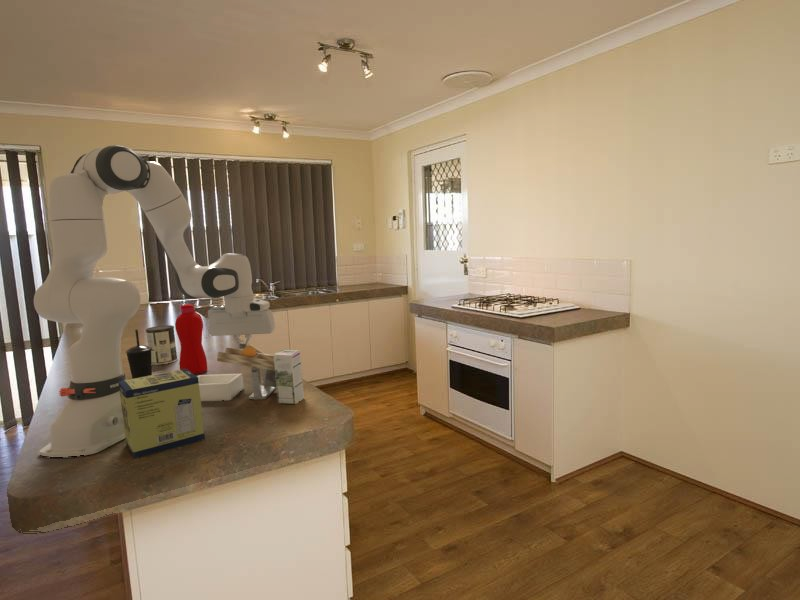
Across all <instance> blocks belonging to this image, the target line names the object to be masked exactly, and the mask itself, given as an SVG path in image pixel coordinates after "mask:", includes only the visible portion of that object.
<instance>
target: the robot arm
mask: <svg viewBox="0 0 800 600" xmlns="http://www.w3.org/2000/svg"><path fill="white" fill-rule="evenodd" d="M123 192H127V193H129V194H130V195H131V196H132V197H133V198H134V199H135V200H136V201H137V202H138V204H139V206H140V208H141V209H142V212H143V213H144V214H145V216H146V218H147V219H148V221H149V223H150V224H151V226H152V227H153V228H152V229H154V232H155V235H156V238H157V239H158V241H159V244H160V246H161V248H162V250H163V252H164V253H165V256H166V257H167V259H168V261H169V264H170V265H171V267H172V268H173V269H172V270H173V271H174V273H175V279H176V284H177V288H178V290H179V292H180V293H181V294H182V295H183V296H184V297H186V298H189V299H192V300H195V299H196V300H197V299H198V300H199V299H211V300H212V299H213V300H214V299H220V298H223V300H224V301H223V302H224V305H219V306H215V305H214V306H211V307H210V308H209V309H208V311H207V318H208V330H209V331H208V335H209V336H211V337H221V336H224V337H225V336H233V340H234V341H235V342H236V344H237V349H244V348H245V347H247V346H250V341H251V339H252V338H253V335H263V334H264V335H265V334H267V335H269V334H272V333H274V331H275V330H276V329H275V328H276V322H275V318H274V314H273V312H272V310H271V309H269V308H270V307H271V306H270V305H271V304H270V302H269V301H267V300H263V299H259V298H256V297H254V295H255V294H254V292H253V289H252V284H253V278H252V277H253V275H252V268H251V263H250V260H249V257H247V256H246V255H244V254H241V253H231V252H229V253H223V254H222V255H221V257H220V258H218V259H217V260H216V261H215V262H213V263H211V264H209V265H207V266H205V265H204V266H203V265H199V263H197V262H196V261H195V260H194V257H193V256H192V254H191V252H190V249H189V248H188V246H187V244H186V241H185V238H184V233H185V230H186V229H187V228H188V227H189V225H190V223H191V221H192V220H191V219H192V211H191V208H190V206H189V204H188V201H187V199H186V198H185V196H184V194H183V192H182V191H181V189H180V187H179V186H178V185H177V182H175V180H174V178H173V177H172V176H171V175H170V173H169V172H168V171H167V170H166V169H165V167H164V166H163V165H162V164H160V163H159V162H156V161H149V160H145V159H144V158H142V157H141V156H140V155H139V154H138V153H137V152H135V151H134V150H133V149H131V148H129V147H126V146H125V145H124V146H123V145H118V144H117V145H115V144H114V145H108V146H105V147H99V148H95V149H92V150H91V151H89V152H86V153H84V154H82V155H81V156H80V157H79V158H78V159H77V160H76V162H75V163H74V165H73V167H72V169H71V171H70V172H68V173H63V174H59V175H57V176H55V177H54V178H52V180H51V181H50V183H49V190H48V215H49V223H50V225H49V226H50V232H51V233H50V234H51V242H52V262H51V265H50V270H49V272H48V275H47V277H46V279H45V280H44V281H43V283H42V284H41V285H40V286H39V287H38V288H37V289H36V291H35V293H34V296H33V306H34V309H35V311H36V313H37V315H38V316H39V317H40V318H42V319H44V320H48V321H51V322H55V323H61V324H82V330H81V335H80V338H79V339H78V340H77V341H76V342H74V343H73V344H72V345H71V346H70V347H69V349H68V352H67V356H68V363H69V371H70V377H71V380H70V383H69V387H61V388H60V389H59V393H58V394H59V396H60V397H66V396H67V398H68V400H67V402H66V404H64V406H63V408H62V409H61V410H60V412H59V414H58V415H57V416H56V418H55V420H54V421H53V422H52V424H51V425H50V429H49V435H50V436H49V437H50V440H49V441H50V442H49V443H48V444H47V445H45V446H44V447H42V448H41V449H40V450H39V452H38V454H39V453H40V454H41V455H45V456H53V457H63V458H69V457H68V456H77V457H81V456H80V455H84V456H89V455H94V454H97V453H99V452H101V451H104V450H105V449H107V448H108V447H111V446H113V445H115V444H117V443H119V442H120V441H122V440H125V439H126V436H125V428H124V420H123V413H122V406H121V399H120V392H119V384H118V382H119V381H123V380H127V377H126V373H125V372H124V370H123V368H124V367H123V361H122V352H121V351H122V349H121V348H122V345H121V344H122V337H123V333H124V330H125V328H126V325H127V324H128V323H129V321H130V319H132V318H133V317H134V316H135V315H136V314H137V313H138V311H139V308H140V306H141V294H140V291H139V289H138V288H137V286H136V285H135V284H134V283H133V282H132V281H131V280H128V279H127V280H126V279H123V278H117V277H111V276H110V277H109V276H107V277H94V270H95V267H96V265H97V263H98V262H99V261H100V260H101V259H103V258H104V257H105V256H106V254H107V252H108V241H107V232H106V225H105V217H104V216H105V215H104V211H103V205H104V204H103V203H104V199H105V196H106V195H108V194H112V195H113V194H114V195H115V194H119V193H123ZM242 335H243V336H244V337H245V339H246V340H245V342H244V341H243V342H242V340H241V339H240V338H241V336H242Z"/></svg>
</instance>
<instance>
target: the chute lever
mask: <svg viewBox="0 0 800 600" xmlns="http://www.w3.org/2000/svg"><path fill="white" fill-rule="evenodd" d="M242 351H243V349H239V348H234V347H233V348H232V347H226V348H225V352H223V351H222V352H221V351H218V352H217V360H216V361H217V362H221V363H228V364H234V365H240V366H246V367H251V368H252V367H254V366H255V367H257V368H260V369H261V370H262V369H267V371H266V379H265V386H271V387H276V377H275V366H274V354H268V353H262V352H257V350H256V349H255V351H256V355H255V356H254V357H246V356H242Z"/></svg>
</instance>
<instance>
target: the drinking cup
mask: <svg viewBox="0 0 800 600" xmlns="http://www.w3.org/2000/svg"><path fill="white" fill-rule="evenodd" d="M134 331H135V339H136V345H133V346H131V347H130V348H128V349H126V350H125V354H126V356H127V361H128V364H129V369H130V374H131V379H135V378H140V377H145V376H150V375H153V373H152V370H153V369H152V366H153V365H152V360H151V350H152V347H149V346H148V345H145V344H140V339H139V338H140V337H139V329H135V330H134Z"/></svg>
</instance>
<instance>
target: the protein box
mask: <svg viewBox="0 0 800 600" xmlns="http://www.w3.org/2000/svg"><path fill="white" fill-rule="evenodd" d="M197 376H198V375H197V374H193V373H191V372H190V371H189V370H188V369H181V370H180V369H177V370H171V371H167V372H161V373H157V374H152V375H150V376H145V377H140V378H135V379H132V378H131V379H126V380H123V381H119V382H118V384H119V392H120V399H121V406H122V413H123V420H124V428H125V436H126V438H125V444H126V446H127V448H128V450H129V452H130V454H131V455H132V458H133V459H137V457H138V458H142V457H146V456H148V454H149V455H153V454H156V453H155V452H157V453H160V452H164V451H167V449H168V450H171V449H174V448H178V446H179V447H181V446H185V445H189V444H193V443H197V442H199V440H200V441H203V440H202V439H204V440H205V439H206V438H205V435H206V434H205V427H204V420H203V408H202V401H201V398H200V390H199V381H198V377H197ZM196 441H197V442H196ZM163 450H164V451H163ZM159 451H160V452H159ZM152 453H153V454H152ZM145 455H146V456H145ZM141 456H142V457H141Z"/></svg>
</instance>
